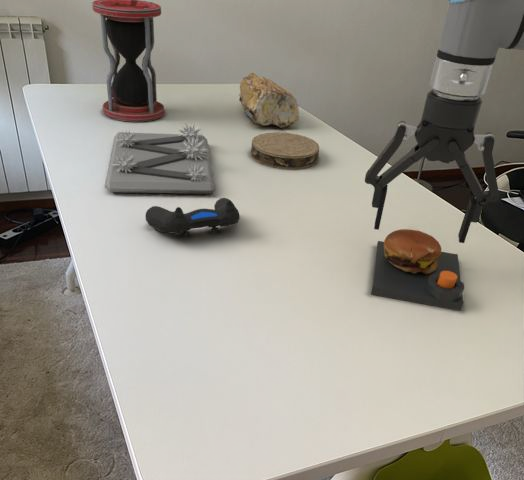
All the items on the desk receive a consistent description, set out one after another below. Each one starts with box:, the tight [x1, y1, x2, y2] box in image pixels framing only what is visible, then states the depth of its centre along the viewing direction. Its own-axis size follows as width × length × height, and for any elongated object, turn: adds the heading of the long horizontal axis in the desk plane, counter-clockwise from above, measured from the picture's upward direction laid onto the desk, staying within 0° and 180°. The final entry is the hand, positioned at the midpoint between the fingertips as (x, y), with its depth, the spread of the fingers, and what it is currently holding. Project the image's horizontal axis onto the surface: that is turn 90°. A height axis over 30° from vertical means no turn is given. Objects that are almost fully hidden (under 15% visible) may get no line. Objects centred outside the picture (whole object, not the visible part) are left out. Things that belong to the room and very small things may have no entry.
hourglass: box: [91, 0, 165, 123], centre depth 140 cm, size 16×16×25 cm
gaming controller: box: [144, 197, 241, 236], centre depth 97 cm, size 17×6×10 cm
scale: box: [370, 240, 465, 311], centre depth 91 cm, size 14×16×3 cm
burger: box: [383, 228, 442, 274], centre depth 91 cm, size 10×9×5 cm
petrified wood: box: [238, 72, 300, 129], centre depth 150 cm, size 19×13×10 cm
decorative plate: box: [104, 122, 217, 195], centre depth 117 cm, size 30×22×7 cm
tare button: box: [437, 271, 457, 289], centre depth 85 cm, size 3×3×2 cm
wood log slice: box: [250, 131, 320, 170], centre depth 130 cm, size 16×16×3 cm
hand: (418, 232), depth 90 cm, fingers open, 13 cm apart
